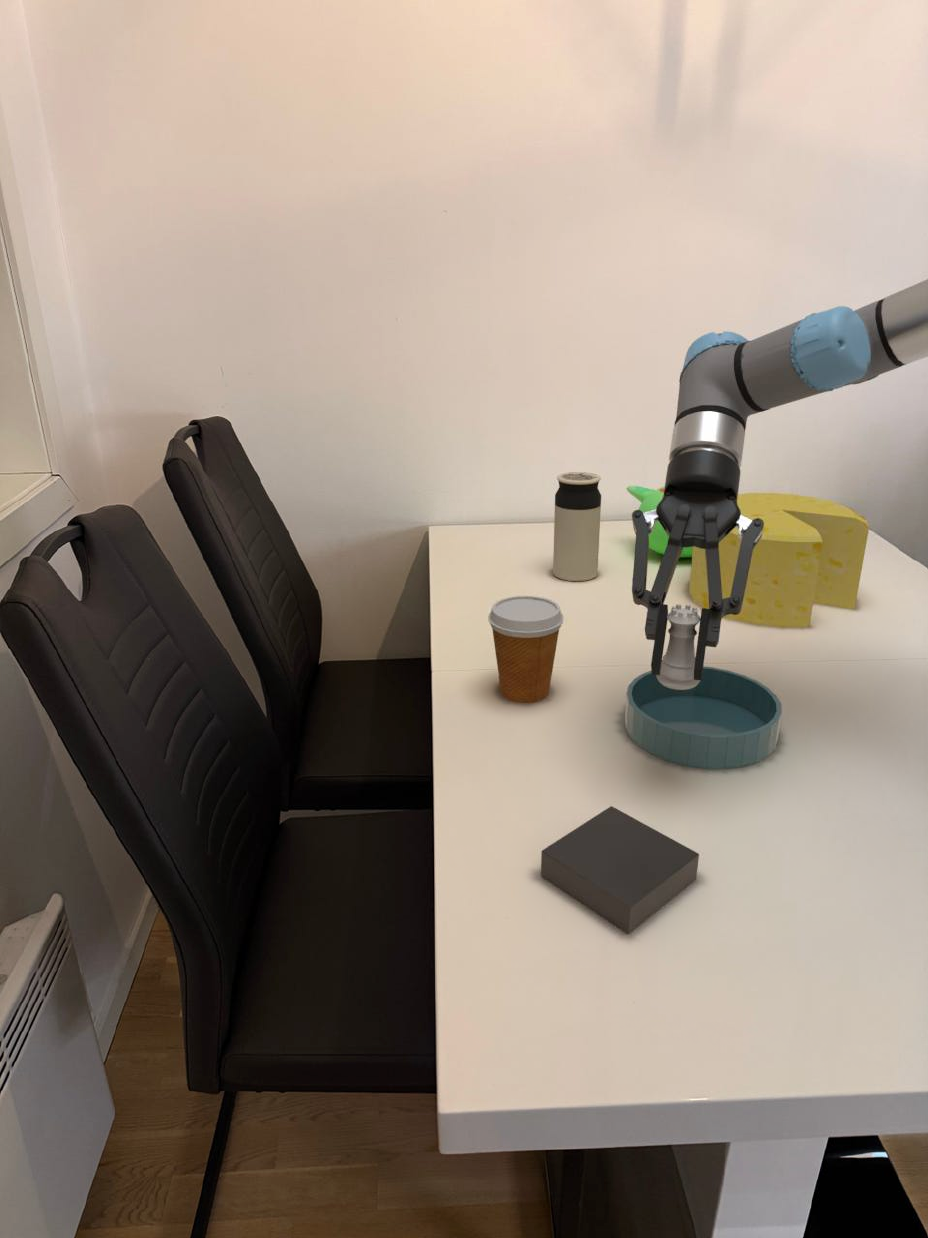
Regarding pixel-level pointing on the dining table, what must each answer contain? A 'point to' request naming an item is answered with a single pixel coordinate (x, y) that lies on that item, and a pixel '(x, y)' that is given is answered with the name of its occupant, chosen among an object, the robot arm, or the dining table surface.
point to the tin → (704, 720)
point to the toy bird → (659, 535)
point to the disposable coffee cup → (525, 645)
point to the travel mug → (577, 526)
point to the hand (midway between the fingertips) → (676, 672)
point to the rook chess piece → (680, 649)
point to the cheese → (790, 559)
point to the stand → (619, 868)
